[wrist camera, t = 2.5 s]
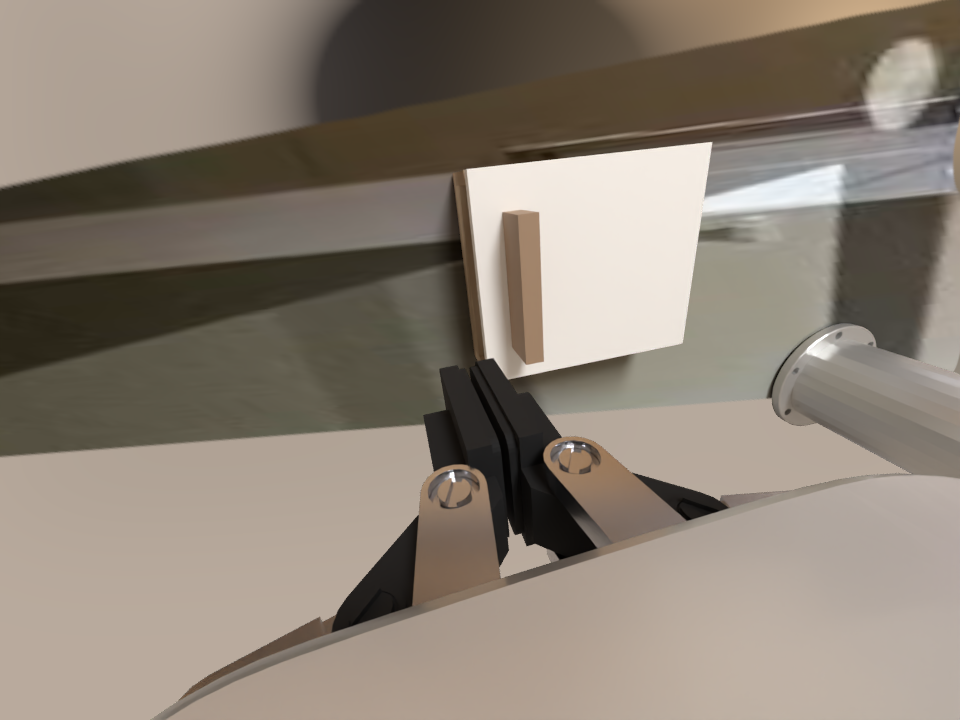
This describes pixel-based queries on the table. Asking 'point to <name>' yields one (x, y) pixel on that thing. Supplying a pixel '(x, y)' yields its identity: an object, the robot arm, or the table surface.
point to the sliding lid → (585, 254)
